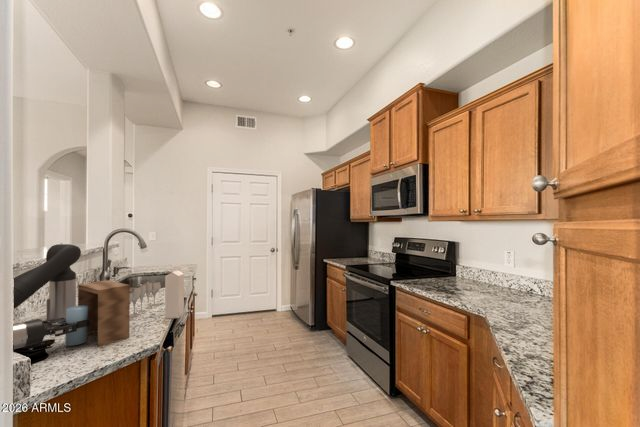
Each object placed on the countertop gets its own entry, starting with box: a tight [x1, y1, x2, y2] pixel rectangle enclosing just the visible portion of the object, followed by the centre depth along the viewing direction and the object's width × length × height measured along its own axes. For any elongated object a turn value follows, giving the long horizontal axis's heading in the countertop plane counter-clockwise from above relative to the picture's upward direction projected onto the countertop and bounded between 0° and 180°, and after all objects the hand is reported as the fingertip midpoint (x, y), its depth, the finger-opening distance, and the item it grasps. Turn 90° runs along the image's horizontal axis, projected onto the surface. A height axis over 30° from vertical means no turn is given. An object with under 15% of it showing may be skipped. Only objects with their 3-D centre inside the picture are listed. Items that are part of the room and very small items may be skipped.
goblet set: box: [129, 280, 162, 322], centre depth 145 cm, size 28×6×13 cm, turn 0°
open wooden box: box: [77, 279, 131, 348], centre depth 114 cm, size 10×18×20 cm, turn 57°
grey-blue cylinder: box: [64, 305, 88, 347], centre depth 107 cm, size 6×6×12 cm
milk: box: [164, 266, 185, 319], centre depth 138 cm, size 6×6×22 cm
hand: (85, 320), depth 109 cm, fingers closed on grey-blue cylinder, 6 cm apart
